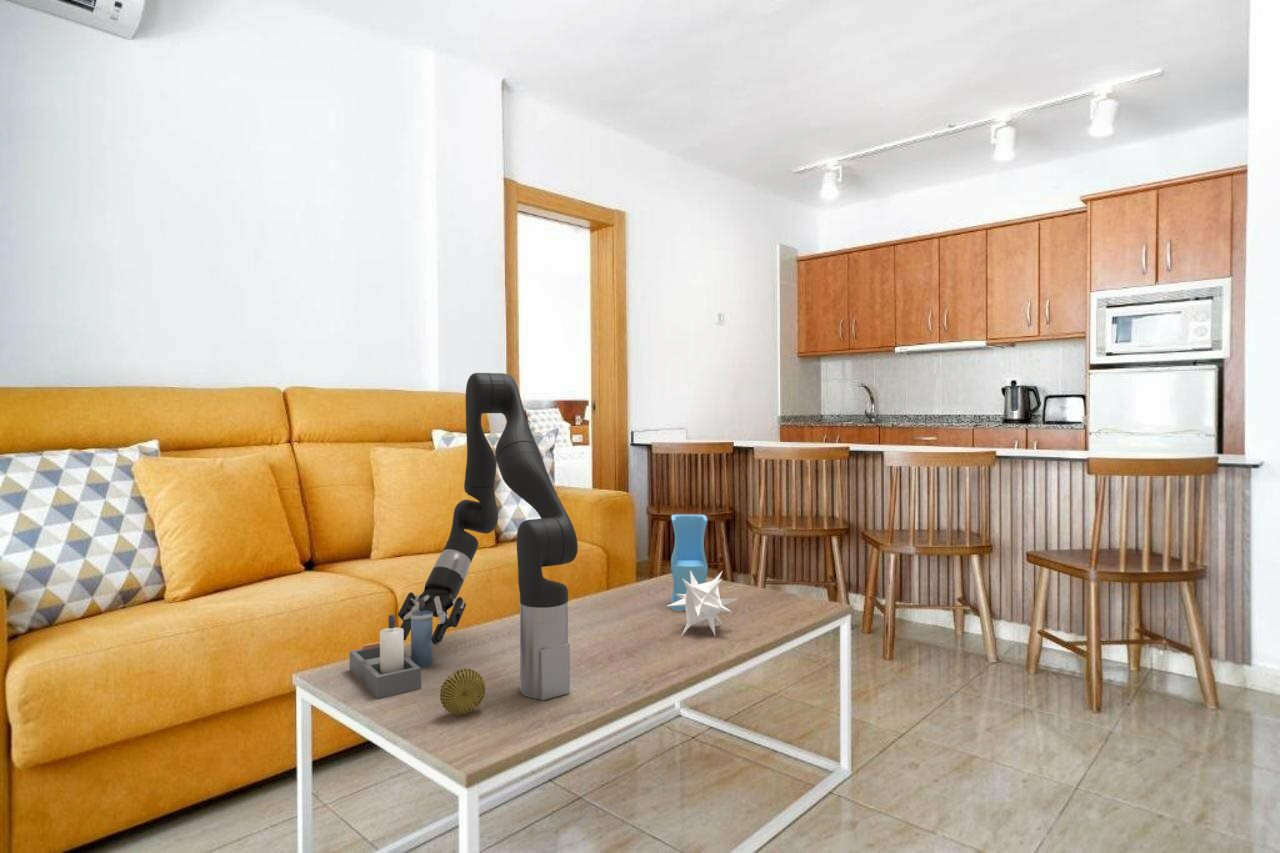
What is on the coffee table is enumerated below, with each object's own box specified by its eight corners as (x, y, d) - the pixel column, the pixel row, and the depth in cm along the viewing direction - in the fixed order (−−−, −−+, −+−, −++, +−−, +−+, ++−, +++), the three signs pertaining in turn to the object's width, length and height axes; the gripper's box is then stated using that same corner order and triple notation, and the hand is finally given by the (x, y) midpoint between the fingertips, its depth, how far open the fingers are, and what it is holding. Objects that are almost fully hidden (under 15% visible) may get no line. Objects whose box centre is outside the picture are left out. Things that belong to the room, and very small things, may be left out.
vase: (671, 611, 193) (671, 519, 192) (671, 601, 202) (671, 514, 202) (707, 611, 192) (707, 519, 192) (705, 601, 202) (705, 514, 202)
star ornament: (752, 636, 172) (752, 577, 171) (708, 649, 163) (708, 587, 162) (697, 615, 188) (697, 561, 187) (654, 626, 179) (654, 569, 178)
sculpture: (481, 705, 130) (481, 662, 129) (488, 713, 126) (488, 669, 126) (437, 714, 126) (437, 669, 126) (442, 723, 122) (442, 677, 122)
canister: (436, 665, 150) (436, 598, 150) (415, 669, 148) (415, 602, 148) (428, 659, 154) (428, 594, 154) (407, 664, 151) (407, 597, 151)
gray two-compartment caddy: (421, 688, 138) (420, 615, 138) (376, 698, 133) (376, 623, 132) (390, 661, 153) (390, 596, 153) (349, 670, 148) (349, 602, 147)
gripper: (414, 563, 160) (381, 628, 149) (469, 567, 155) (439, 635, 145) (428, 581, 165) (397, 645, 154) (482, 585, 161) (454, 652, 150)
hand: (417, 640), depth 149 cm, fingers open, 7 cm apart
